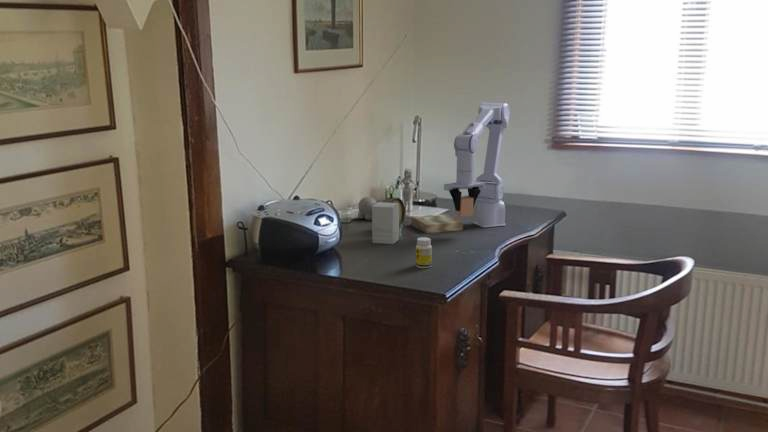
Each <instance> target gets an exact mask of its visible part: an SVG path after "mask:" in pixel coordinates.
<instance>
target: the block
mask: <svg viewBox="0 0 768 432" xmlns="http://www.w3.org/2000/svg"><path fill="white" fill-rule="evenodd" d="M473 202H474V198H472V197H470V196H469V195H461V199H460V211H456V210H455V209H454V211H455V212H454V213H455V215H457V216H459V217H460V218H461V217H471V216H474V209H473Z"/></svg>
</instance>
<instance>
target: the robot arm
mask: <svg viewBox="0 0 768 432" xmlns="http://www.w3.org/2000/svg"><path fill="white" fill-rule="evenodd" d="M477 112H478V116H477V117H476V119H475V120H474V121H471V122H470V123H469V124H467V127H465V129H464V130H463V132H462V133H460V134H457V135H456V136H455V137H454V143H453V148H454V153H455V154H454V156H455V157H456V177H455V178H456V179H455V180H456V182H451V183H444V185H443V190H444V191H446V192H447V191H449V195H450V196H451V199H452V201H453V205H454V211H455V210H456V211H460V199H461V196H462V194H463V193H462V191H460V190H467V196H470V197H472V198H474V202H473V210H474V208H475V204H476V202H477V221H473V222H472V224H474V225H476V226H479V227H481V228H493V227H495V228H496V227H505V226H506V223H505V221H506V205H505V202H504V200H502V199H503V196H504V192H505V191H504V185H505V184H504V183H505V182H504V180H503V179H502V178H501V176H499V175H498V169H499V163H500V155H501V149H502V148H501V147H502V142H503V135H504V130H505V129H506V128H508V127H509V121H510V114H511V111H510V106H509V104H508V103H506V102H504V103H502V102H501V103H500V102H499V103H498V102H497V103H496V102H484V101H483V102H481V103H480V105H479V107H478V111H477ZM485 127H486V128H488V130H489V131H488V138H487V139H488V140H487V145H486V154H485V160H484V165H483V166H484V167H483V173H482V174H480V175H478V176H477V177H476V179H475V181H474V173H475V172H474V169H475V168H474V167H475V152H476V151H477V149H478V145H479V141H480V139H481V137H483V135H484V133H485V129H484V128H485Z"/></svg>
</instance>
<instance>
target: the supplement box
mask: <svg viewBox="0 0 768 432" xmlns="http://www.w3.org/2000/svg"><path fill="white" fill-rule="evenodd" d="M371 225H372V227H371V229H372V231H371V233H372V234H371V235H372V237H371V238H372V243H373V244H385V245H394V244H395V243H396V242H398V241H399V240H400V228H399V203H386V202H381V201H378V202H377V203H376V204H375V205H373V206H372V219H371Z"/></svg>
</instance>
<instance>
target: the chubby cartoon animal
mask: <svg viewBox="0 0 768 432" xmlns="http://www.w3.org/2000/svg"><path fill="white" fill-rule="evenodd" d="M383 201H384V200H381V201H380V202H383ZM376 203H378V202H377V200H376V199H375V198H374V197H371V196H364V197H362V198H361V199H360V201H359V203H358V206H357V207H358V213H357V219H360V220H363V219H365V220H366V221H372V206H373V205H375V204H376Z"/></svg>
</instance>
